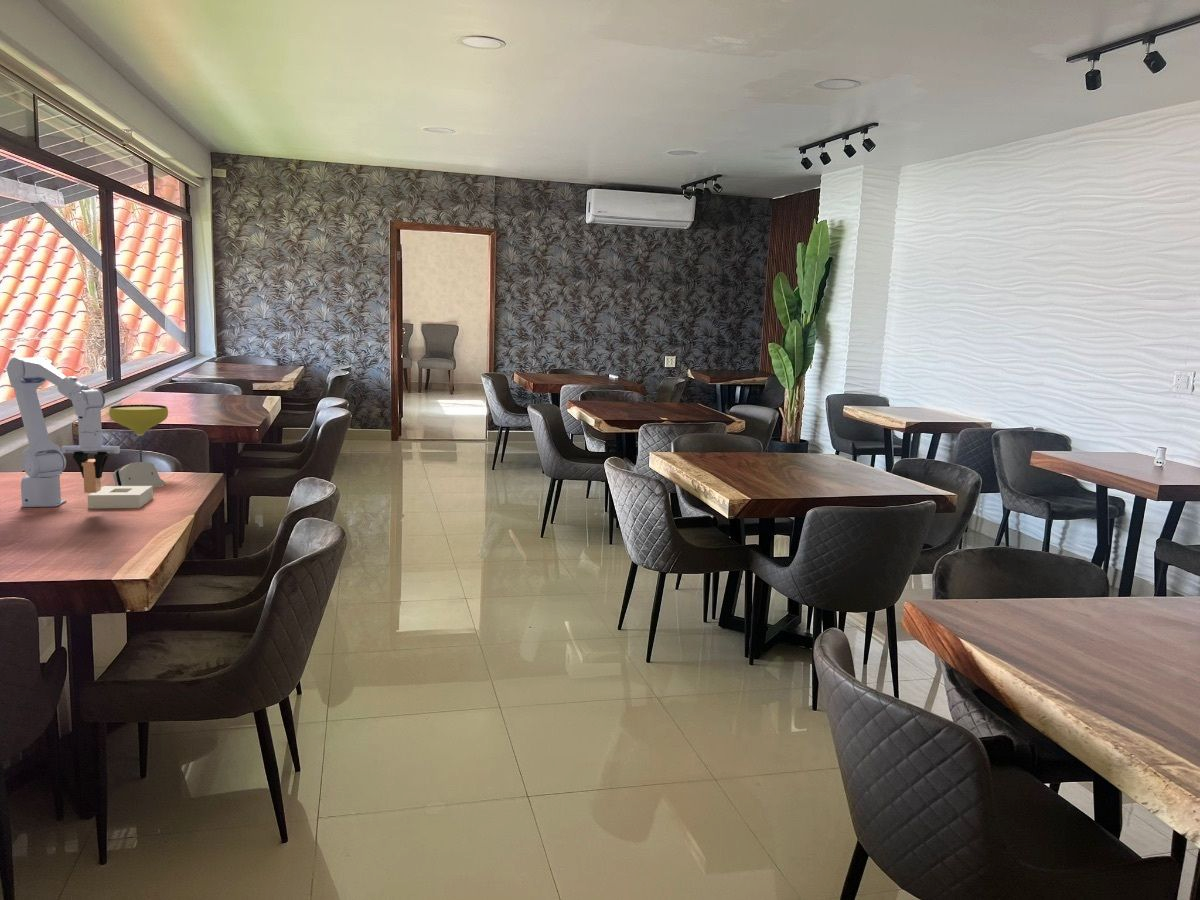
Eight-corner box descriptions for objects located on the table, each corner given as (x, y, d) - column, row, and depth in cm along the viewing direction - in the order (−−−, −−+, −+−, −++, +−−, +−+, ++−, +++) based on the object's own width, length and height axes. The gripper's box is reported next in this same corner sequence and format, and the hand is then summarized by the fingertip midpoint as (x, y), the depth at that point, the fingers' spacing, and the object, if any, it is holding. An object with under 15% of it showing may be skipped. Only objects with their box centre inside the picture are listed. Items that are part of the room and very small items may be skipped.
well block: (88, 508, 249) (87, 495, 248) (103, 498, 262) (103, 486, 262) (140, 507, 252) (139, 494, 252) (152, 498, 266) (152, 485, 265)
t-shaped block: (83, 493, 240) (81, 462, 238) (90, 489, 246) (89, 459, 244) (94, 493, 240) (93, 462, 239) (102, 489, 246) (100, 459, 245)
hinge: (130, 494, 270) (120, 464, 269) (118, 498, 271) (108, 468, 270) (166, 485, 286) (156, 457, 285) (154, 488, 287) (145, 460, 286)
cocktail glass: (165, 471, 310) (163, 404, 306) (174, 479, 296) (171, 409, 292) (109, 474, 300) (106, 405, 296) (115, 483, 285) (112, 410, 281)
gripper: (56, 432, 235) (58, 480, 237) (113, 433, 238) (115, 480, 240) (66, 429, 242) (68, 475, 244) (121, 430, 245) (123, 475, 247)
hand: (92, 477), depth 243 cm, fingers closed on t-shaped block, 3 cm apart
